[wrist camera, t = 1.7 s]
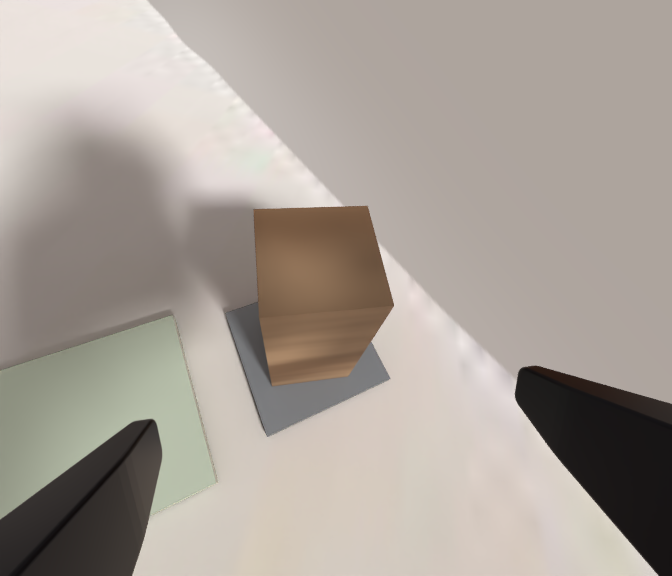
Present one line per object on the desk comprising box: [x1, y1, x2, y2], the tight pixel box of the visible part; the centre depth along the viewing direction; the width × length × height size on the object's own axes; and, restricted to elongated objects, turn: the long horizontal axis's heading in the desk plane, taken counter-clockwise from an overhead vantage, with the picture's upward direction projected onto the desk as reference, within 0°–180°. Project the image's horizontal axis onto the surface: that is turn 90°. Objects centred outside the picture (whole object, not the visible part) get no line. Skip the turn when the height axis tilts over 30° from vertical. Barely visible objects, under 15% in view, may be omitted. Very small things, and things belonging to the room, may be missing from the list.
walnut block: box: [254, 206, 394, 386], centre depth 16 cm, size 5×5×10 cm
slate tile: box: [225, 302, 390, 437], centre depth 21 cm, size 8×8×1 cm
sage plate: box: [0, 315, 218, 519], centre depth 17 cm, size 10×10×1 cm
